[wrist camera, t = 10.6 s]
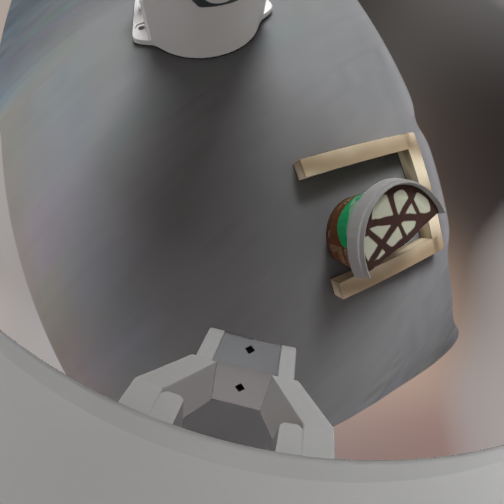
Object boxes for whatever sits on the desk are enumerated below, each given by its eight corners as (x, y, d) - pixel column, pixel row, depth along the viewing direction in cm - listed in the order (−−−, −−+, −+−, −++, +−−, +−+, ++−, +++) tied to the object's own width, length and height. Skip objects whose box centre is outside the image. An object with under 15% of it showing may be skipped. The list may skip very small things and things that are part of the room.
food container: (373, 168, 33) (424, 154, 23) (394, 210, 34) (448, 209, 24) (295, 219, 32) (332, 219, 22) (322, 264, 33) (365, 281, 23)
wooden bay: (293, 163, 31) (300, 159, 29) (402, 136, 33) (413, 132, 30) (334, 294, 33) (343, 299, 31) (432, 246, 35) (443, 247, 33)
